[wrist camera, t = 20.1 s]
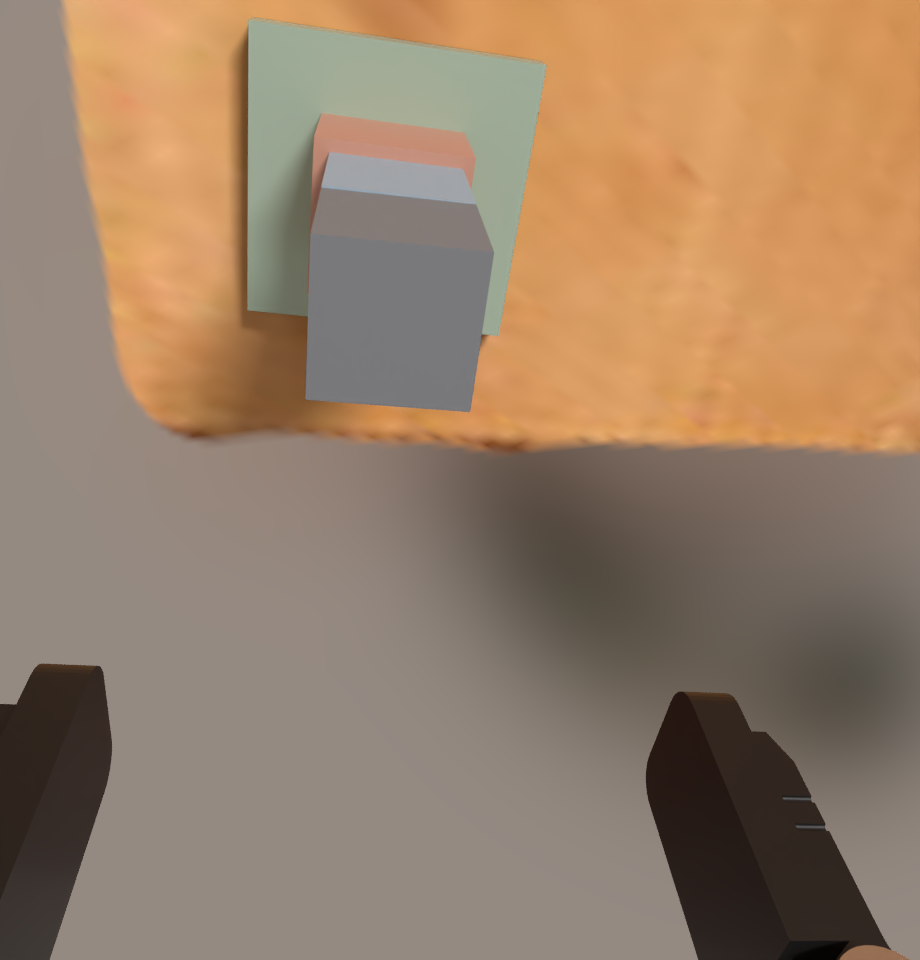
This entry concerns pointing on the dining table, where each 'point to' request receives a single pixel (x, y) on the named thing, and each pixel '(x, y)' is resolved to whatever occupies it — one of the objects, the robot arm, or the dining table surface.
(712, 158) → the dining table surface
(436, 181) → the blue brick
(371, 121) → the base brick
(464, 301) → the slate brick
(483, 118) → the build plate
